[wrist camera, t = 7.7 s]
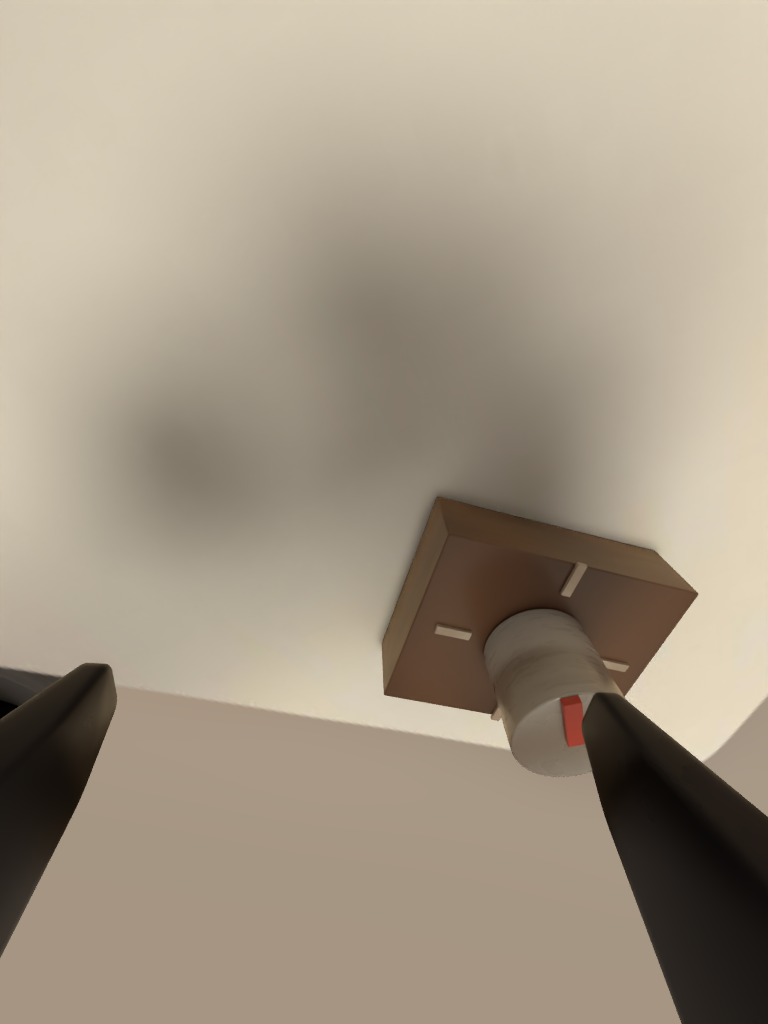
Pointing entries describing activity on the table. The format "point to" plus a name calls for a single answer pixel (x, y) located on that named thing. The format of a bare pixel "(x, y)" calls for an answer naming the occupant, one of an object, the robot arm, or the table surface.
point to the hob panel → (520, 601)
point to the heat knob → (545, 688)
